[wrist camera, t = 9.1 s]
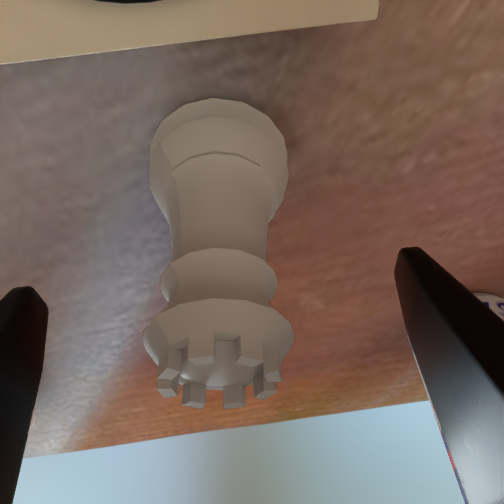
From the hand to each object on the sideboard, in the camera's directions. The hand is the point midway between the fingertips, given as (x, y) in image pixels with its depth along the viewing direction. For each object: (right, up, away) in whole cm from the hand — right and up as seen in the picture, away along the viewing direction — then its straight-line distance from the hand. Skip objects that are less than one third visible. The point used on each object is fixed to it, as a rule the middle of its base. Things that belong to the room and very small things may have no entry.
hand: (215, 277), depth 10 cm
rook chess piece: (0, +4, +4) cm, 5 cm away
